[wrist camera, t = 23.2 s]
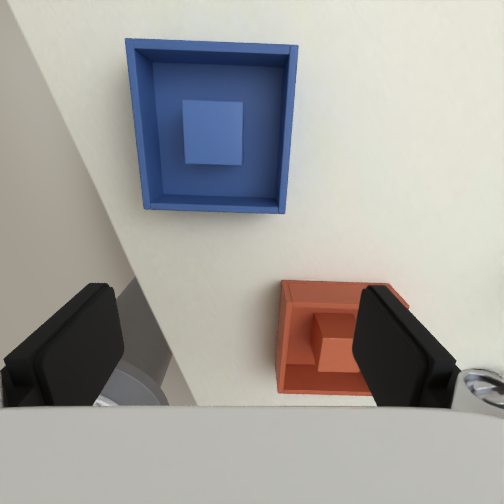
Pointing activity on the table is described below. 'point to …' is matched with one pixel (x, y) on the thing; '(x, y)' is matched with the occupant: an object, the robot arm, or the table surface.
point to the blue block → (213, 132)
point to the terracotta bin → (299, 335)
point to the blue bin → (212, 89)
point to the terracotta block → (333, 342)
